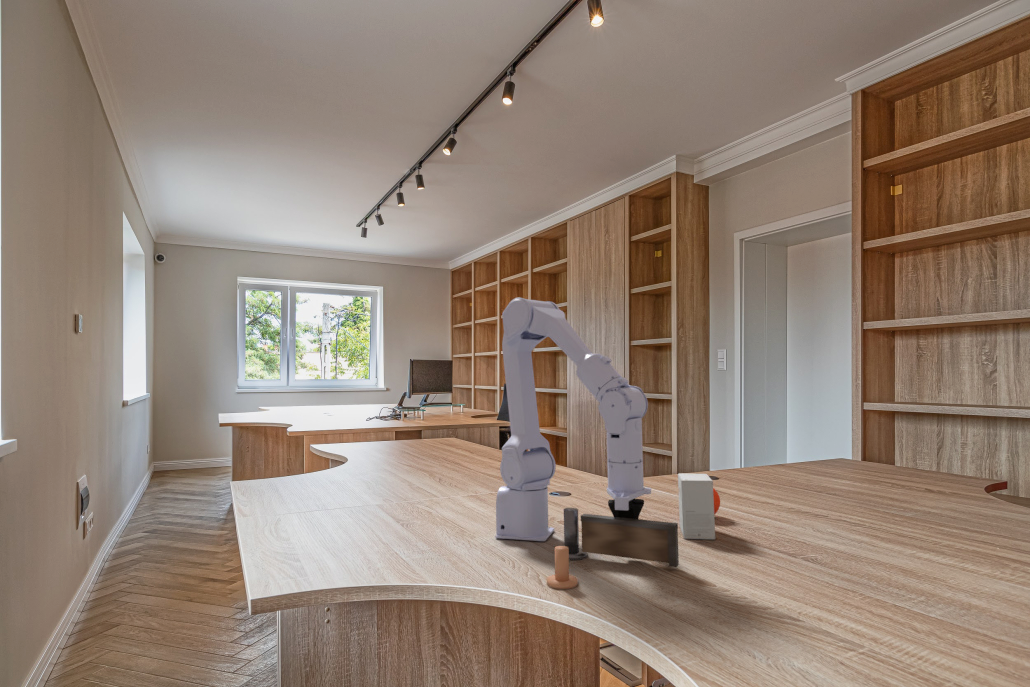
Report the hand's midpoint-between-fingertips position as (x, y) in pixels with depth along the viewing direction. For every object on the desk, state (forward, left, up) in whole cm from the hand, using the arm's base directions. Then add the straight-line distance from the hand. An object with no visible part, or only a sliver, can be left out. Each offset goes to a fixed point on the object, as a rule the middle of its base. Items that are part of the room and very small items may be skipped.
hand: (627, 545), depth 93 cm
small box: (+11, +17, -2) cm, 21 cm away
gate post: (-9, -1, -2) cm, 9 cm away
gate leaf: (0, -2, -1) cm, 3 cm away
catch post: (-8, -14, -2) cm, 16 cm away
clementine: (+12, +30, -2) cm, 33 cm away
